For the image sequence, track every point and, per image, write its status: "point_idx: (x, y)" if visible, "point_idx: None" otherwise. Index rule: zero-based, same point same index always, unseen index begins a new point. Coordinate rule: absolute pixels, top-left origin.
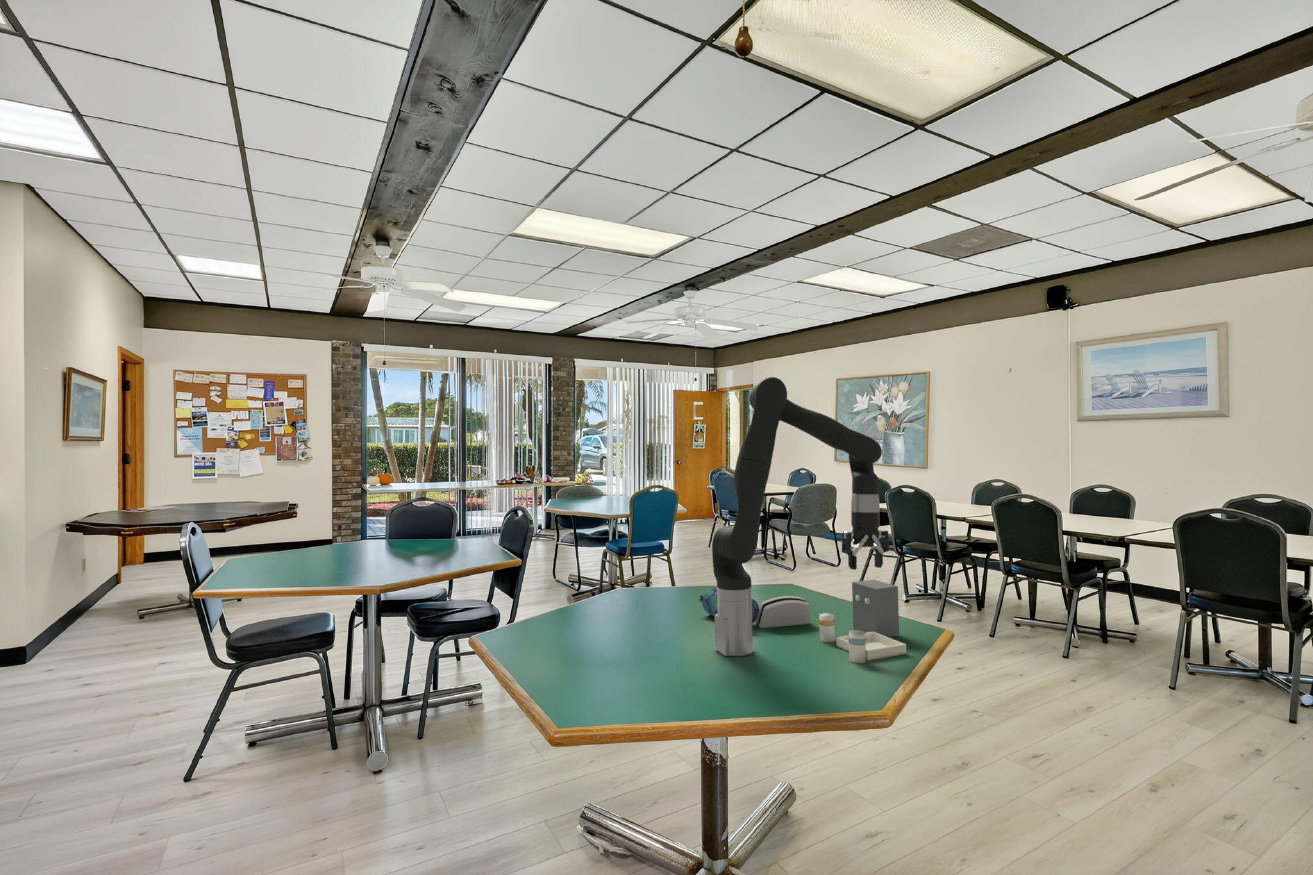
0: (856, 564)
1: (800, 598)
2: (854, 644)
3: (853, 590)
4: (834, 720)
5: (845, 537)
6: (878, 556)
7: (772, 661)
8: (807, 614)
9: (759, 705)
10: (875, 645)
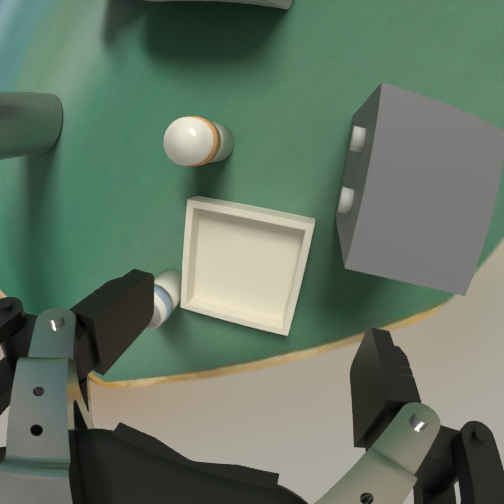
0: (135, 337)
1: None
2: None
3: (372, 99)
4: None
5: None
6: (359, 423)
7: (60, 196)
8: (267, 2)
9: (21, 295)
10: (272, 257)
